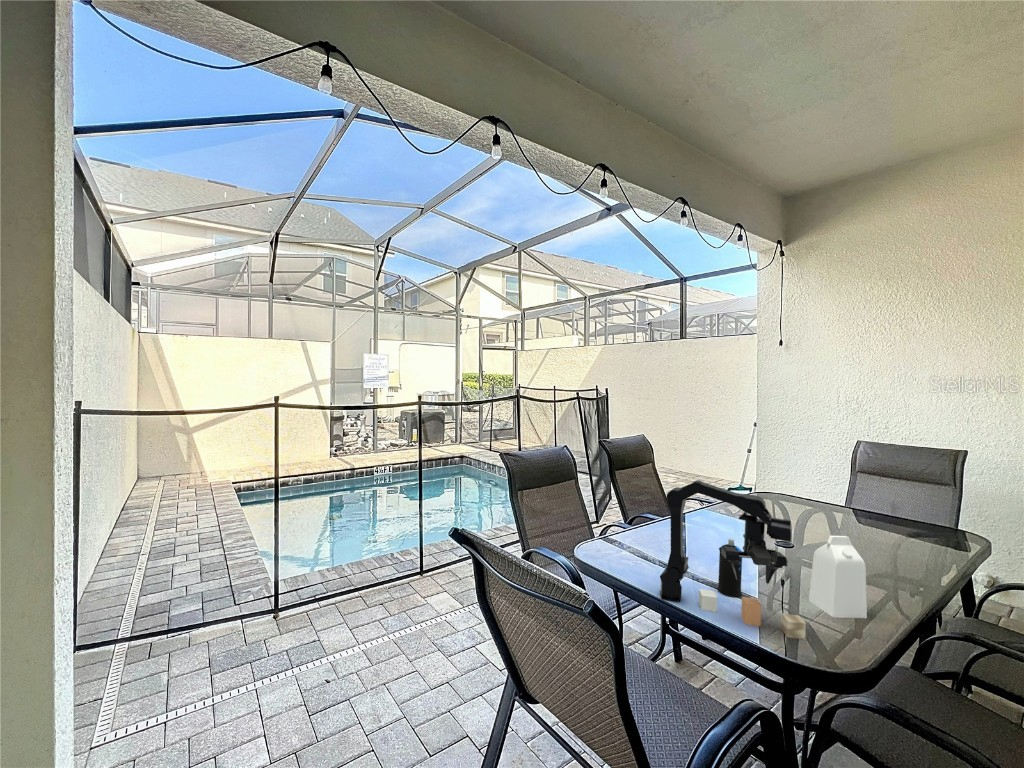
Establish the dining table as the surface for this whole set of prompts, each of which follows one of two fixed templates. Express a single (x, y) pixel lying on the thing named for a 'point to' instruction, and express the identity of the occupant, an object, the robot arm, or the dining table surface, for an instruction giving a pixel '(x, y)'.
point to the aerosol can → (729, 574)
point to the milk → (839, 579)
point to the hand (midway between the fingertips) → (752, 581)
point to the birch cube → (793, 626)
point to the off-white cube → (708, 600)
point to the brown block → (751, 611)
